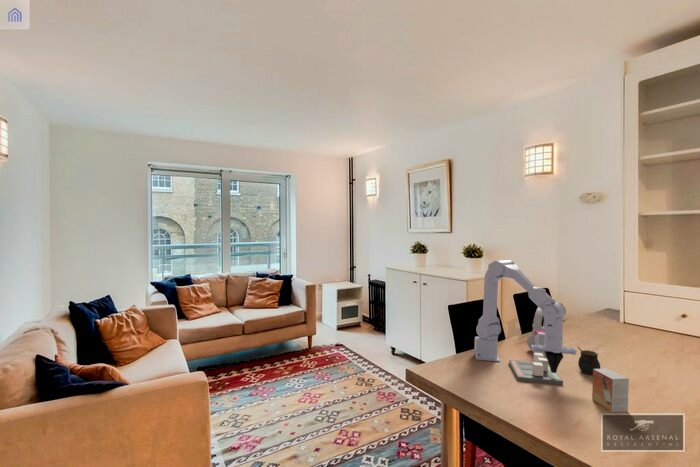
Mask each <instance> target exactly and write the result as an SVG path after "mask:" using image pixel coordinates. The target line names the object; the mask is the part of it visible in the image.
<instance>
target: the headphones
mask: <svg viewBox="0 0 700 467" xmlns="http://www.w3.org/2000/svg"><path fill="white" fill-rule="evenodd" d="M542 322H543V325H542ZM535 330H537V331H545V318H544V316H543V315H542V310H541V309H540V308H539V307H538V306H537V308H536V311H535V314H534V317H533V321H532V331H531V334H530V335H528V337H527V339H526V345H527V347H528V349H530V350H531V345H534V344H535Z"/></svg>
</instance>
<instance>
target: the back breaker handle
mask: <svg viewBox="0 0 700 467" xmlns="http://www.w3.org/2000/svg"><path fill="white" fill-rule="evenodd" d="M537 358H544V355H543V354H542V353H534V352H533V362H537Z"/></svg>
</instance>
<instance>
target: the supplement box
mask: <svg viewBox="0 0 700 467" xmlns="http://www.w3.org/2000/svg"><path fill="white" fill-rule="evenodd" d="M534 345H545V331H537V330H535V344H534ZM534 353H542V354H543V355H544V358H546V359H547V357H546V355H545V353H544V352H539V351H536V352H533V354H534ZM547 360H548V359H547Z"/></svg>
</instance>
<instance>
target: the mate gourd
mask: <svg viewBox="0 0 700 467" xmlns="http://www.w3.org/2000/svg"><path fill="white" fill-rule="evenodd" d="M577 349H579V351H580V357H579V359H578V362H577V364H578V367H579V370H580V371H581V372H582V373H583V374H586V375H589V376H593V369H601V363H600V361H599V359H598V353H597V352H596V351H593V350H588V349H587V350H582V349H581V348H580V346H577Z"/></svg>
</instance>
